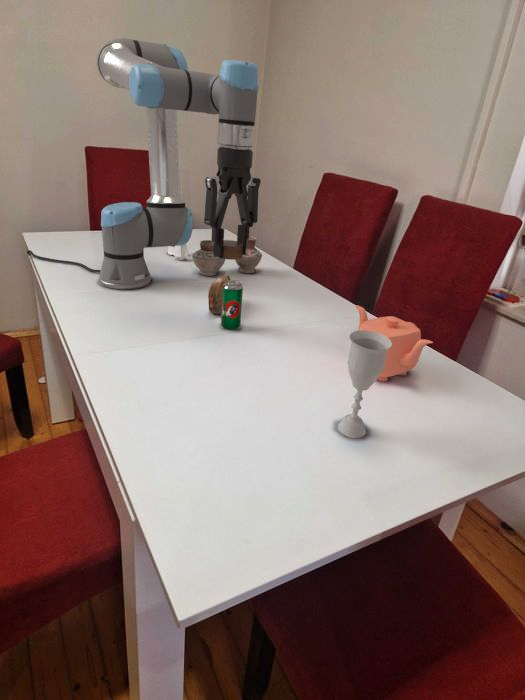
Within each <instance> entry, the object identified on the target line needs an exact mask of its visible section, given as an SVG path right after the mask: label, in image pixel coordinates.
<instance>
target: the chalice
mask: <svg viewBox="0 0 525 700" xmlns="http://www.w3.org/2000/svg"><path fill="white" fill-rule="evenodd" d="M349 339H350V347H349V353H348V359H347V367H348V373H349V377H350V380H351V383H352V386H353V388H355V390H356V393H355V395H354V396H353V399H354V402H353V403H351V408H352V412H351V413H349V414H346V415H345V416H344V417H343V418H342V419H341V420H340V422H339V423H338V425H337V431H338V432H339V433H340V434H342V435H343V436H346V437H348V438H351V439H352V438H353V439H360V438H363V437H364V436H365V435H366V432H367V431H366V428H365V422H364V420H363V418H362V417H361V416H360V415H359V411H360V410H361V409H362V406H361V401H363V399H364V397H363V393H364V392H365V391H368V390H369V389H370V388H371V387H372V386H373V385H374V384H375V382H376V381H377V380H378V379H377V378H378V377H379V375H380V374H381V372H382V370H383V366H384V362H385V358H386V353H387V351H388V349H389V348H390V347H391V346H392V342H391V340H390V339H389V338H387V337H386V336H384V335H382V334H379V333H377V332H373V331H366V330H359V331H358V330H354V331H352V332H351V333H350V334H349ZM363 391H364V392H363Z"/></svg>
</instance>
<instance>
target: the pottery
mask: <svg viewBox="0 0 525 700" xmlns="http://www.w3.org/2000/svg"><path fill="white" fill-rule="evenodd" d="M256 242H257V237H255V236H250V235H249V239H248V240H247V244H246V255H242V258H240V259H235V260H234V261H235V263H236V264H237V266H238V267H239V268H238V272H240V273H243V274H253V273H255V272H256V269H255V268H256V267H258V265H259V264H260V263H261V260H262V258H263V253H262V252H261V251H259V249H257V247H256ZM199 247H200V249H198V250H196V251H194V252H193V253H192V255H191V257H192V261H193V263H194V265H195V267H196V268H197V269H198V270H199V274H200V275H203V276H206V277H207V276H209V277H212V276H217V275H218V271H219V270H220V269H221V268H222V267H223V266H224V264H225V261H226V259H223V258H219V257H216V256H214V255H213V253H214V242H212V239H206V240H205V239H204V240H201V241H200V242H199Z"/></svg>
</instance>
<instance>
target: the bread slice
mask: <svg viewBox="0 0 525 700" xmlns="http://www.w3.org/2000/svg"><path fill="white" fill-rule="evenodd" d="M228 280H231V277H230V276H229V275H226V276H225V275H220V276H218V277H217V278H216V279H215V280H214V281H213V283H211V285H210V286H209V289H208V293H207V298H208V311H209V313H211V314H218V315H221V314H222V292H223V285H224V282H225V281H228Z"/></svg>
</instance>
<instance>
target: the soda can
mask: <svg viewBox="0 0 525 700" xmlns="http://www.w3.org/2000/svg"><path fill="white" fill-rule="evenodd" d="M243 293H244V287H243V282H241V281H239V280H236V279H230V280H228V281H225V282H224V285H223V292H222V313H221V314H220V325H221V327H222V328H223V329H224V330H226V331H236V330H238V329H239V328H241V326H242V325H241V324H242V310H243Z"/></svg>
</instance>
